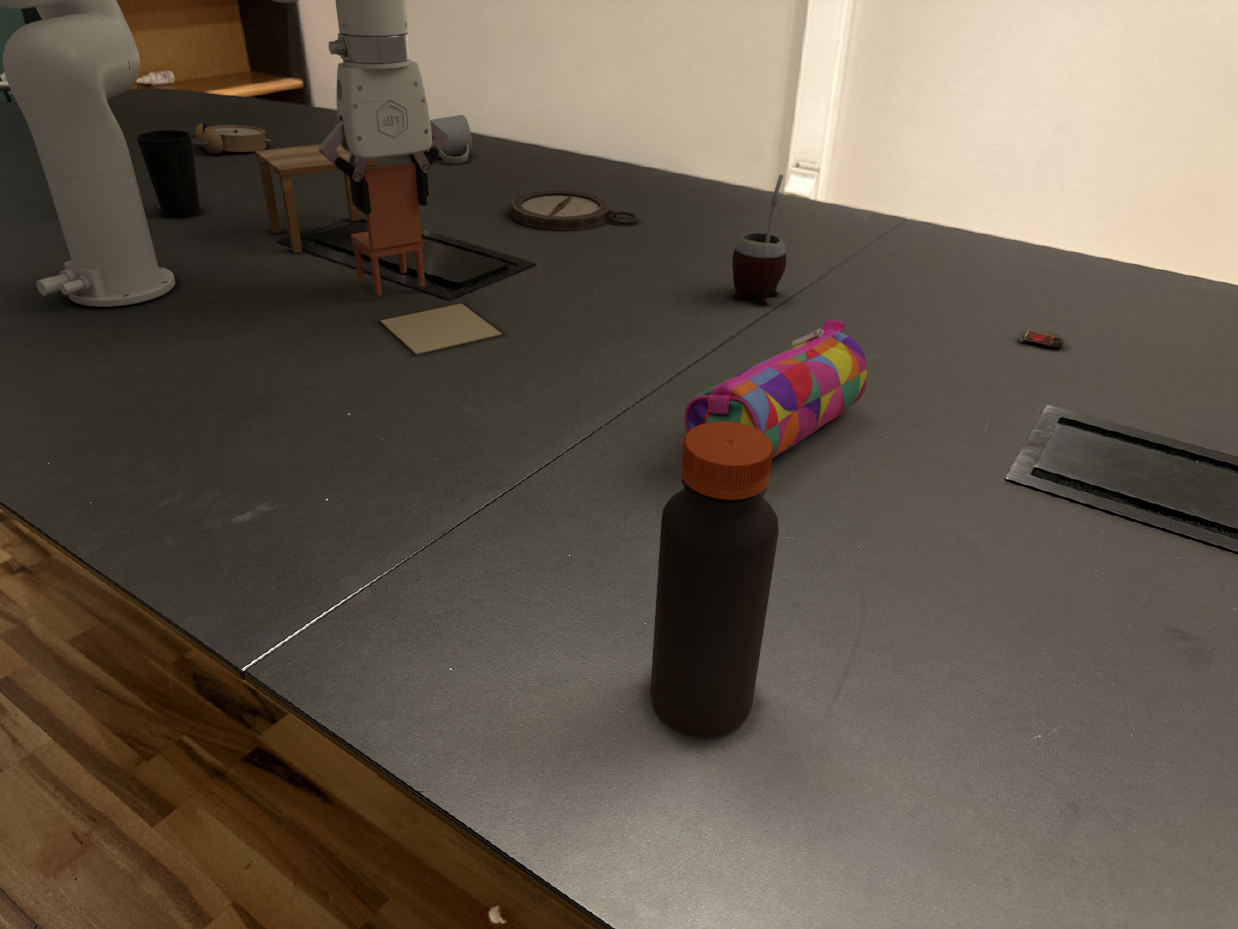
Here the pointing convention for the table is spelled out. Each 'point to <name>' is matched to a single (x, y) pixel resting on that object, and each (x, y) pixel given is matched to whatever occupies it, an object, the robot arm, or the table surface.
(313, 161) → the side table
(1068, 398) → the table surface
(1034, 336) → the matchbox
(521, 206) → the compass
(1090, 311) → the table surface
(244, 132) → the alarm clock
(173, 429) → the table surface
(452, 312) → the mat
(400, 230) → the chair
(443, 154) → the ceramic mug
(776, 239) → the mate gourd
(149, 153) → the cup
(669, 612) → the bottle
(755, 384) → the pencil case
